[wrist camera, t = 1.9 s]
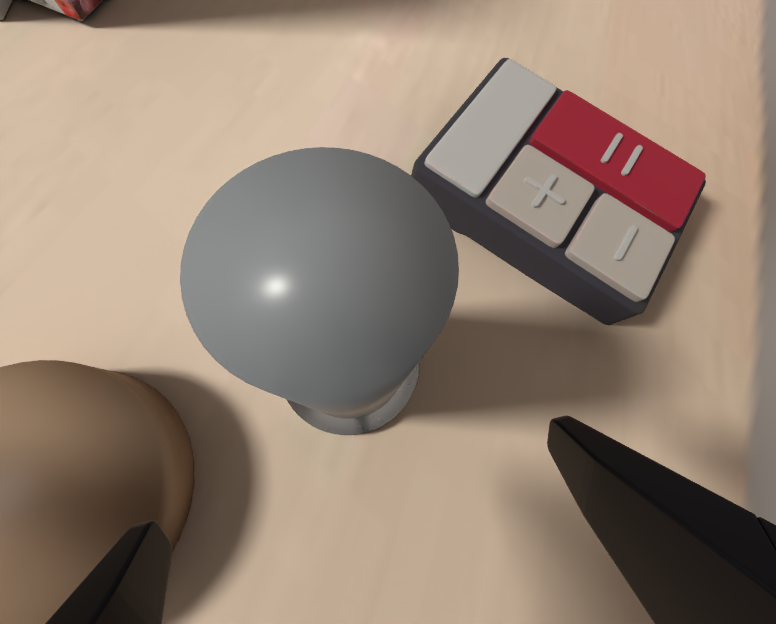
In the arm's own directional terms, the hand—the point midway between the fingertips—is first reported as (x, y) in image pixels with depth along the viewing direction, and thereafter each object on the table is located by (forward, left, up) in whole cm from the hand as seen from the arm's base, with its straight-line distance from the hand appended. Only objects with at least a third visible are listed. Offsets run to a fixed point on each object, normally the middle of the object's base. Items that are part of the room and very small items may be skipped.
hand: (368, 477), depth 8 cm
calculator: (+17, -8, -12) cm, 23 cm away
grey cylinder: (+4, +2, -11) cm, 12 cm away
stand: (-5, +14, -11) cm, 19 cm away
